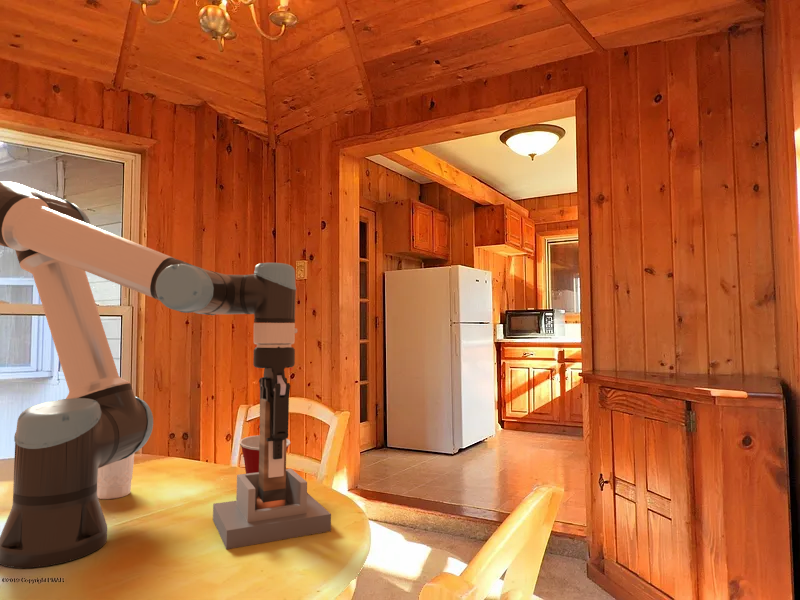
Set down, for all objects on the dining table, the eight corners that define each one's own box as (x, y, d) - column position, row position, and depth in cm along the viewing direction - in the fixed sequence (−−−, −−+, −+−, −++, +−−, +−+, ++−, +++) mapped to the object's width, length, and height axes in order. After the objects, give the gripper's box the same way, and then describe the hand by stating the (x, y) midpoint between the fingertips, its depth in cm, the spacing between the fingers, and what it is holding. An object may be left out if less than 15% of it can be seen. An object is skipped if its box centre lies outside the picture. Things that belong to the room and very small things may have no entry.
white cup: (140, 489, 119) (142, 444, 120) (118, 501, 111) (120, 452, 112) (107, 488, 120) (109, 443, 121) (83, 499, 112) (85, 451, 113)
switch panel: (226, 549, 88) (227, 496, 88) (212, 519, 101) (214, 474, 101) (330, 531, 96) (331, 482, 96) (305, 506, 109) (306, 463, 110)
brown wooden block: (263, 502, 96) (265, 401, 97) (258, 496, 99) (260, 398, 100) (285, 499, 98) (287, 399, 99) (279, 493, 101) (281, 397, 102)
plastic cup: (256, 507, 108) (258, 447, 109) (227, 496, 115) (229, 439, 116) (299, 495, 116) (300, 439, 117) (270, 485, 123) (271, 432, 124)
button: (259, 515, 95) (259, 503, 95) (253, 506, 100) (253, 495, 100) (288, 511, 97) (288, 499, 97) (280, 502, 102) (281, 492, 102)
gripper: (307, 347, 94) (306, 482, 93) (282, 344, 109) (280, 461, 108) (264, 347, 91) (262, 488, 90) (244, 345, 106) (242, 465, 105)
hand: (272, 473), depth 99 cm, fingers closed on brown wooden block, 4 cm apart
